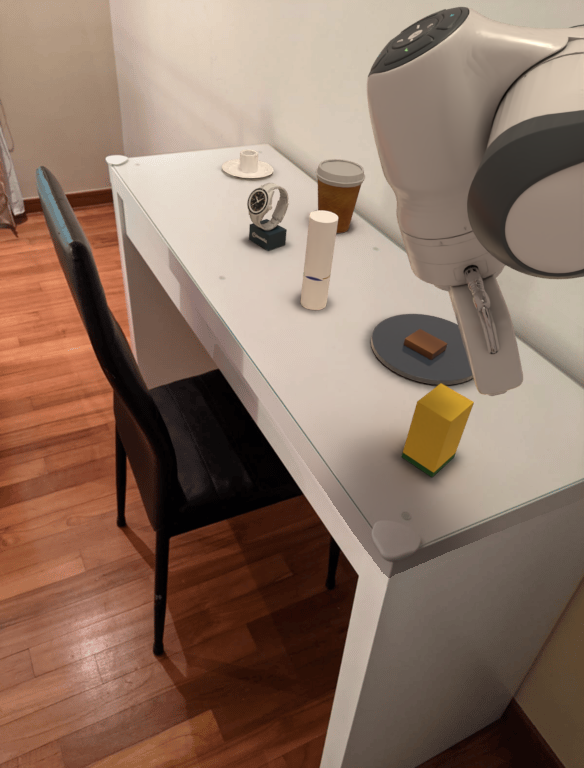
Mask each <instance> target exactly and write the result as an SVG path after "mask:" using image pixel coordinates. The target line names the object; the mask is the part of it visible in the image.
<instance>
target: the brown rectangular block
mask: <svg viewBox="0 0 584 768" xmlns="http://www.w3.org/2000/svg"><path fill="white" fill-rule="evenodd" d="M404 345H405V346H407V347H409V348H410V349H412V350H414V351H416V352H418V353H419V354H421V355H423V356H425V357H427V358H428V359H430V360H432V359H433V358H435V357H436V356H438V355H439V354H440V353H442V352H443V351H445V350H446V347H447V343H446V342H444V341H442V340H440V339H438V338H436V337H434V336H433V335H431V334H429V333H427V332H425V331H423V330H421V329H419V330H417V331H416V332H414V333H413V334H411V335H409V336H408V337H406V338H405V340H404Z"/></svg>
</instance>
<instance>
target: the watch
mask: <svg viewBox="0 0 584 768" xmlns="http://www.w3.org/2000/svg"><path fill="white" fill-rule="evenodd" d="M275 190H278V192H279V198H278V200H277V203H276V205H275V208H274V209H273V206H272V205H273V197H274V196H275V195H274V194H275ZM246 205H247V210H248V216H249V219H250V221H251V223H249V227H248V228H249V231H248V241H249V242H252V243H254V244H255V245H257V246H259V247H261V248H262V249H264V250H265V251H267V252H270V251H272V250H276V249H279V248H282V247H284V246H286V243H287V228H284V227H283V226H281V225H280V224H281V223H282V222H283V220H284V218H285V216H286V214H287V211H288V208H289V205H290V204H289V193H288V191H287V190H286V188H284V187H282V186H281V185H279V184H277V183H274V182H267V183H264V184H261V185H260V186H259V187H256V188H254V189H253V190H252V191H251V192H250V194H249V195H248V197H247V203H246ZM272 209H273V212H272V215H271V218H270V219H268V218H265V219H264V217H265V216H266V214H268V213H269V212H270V211H272Z"/></svg>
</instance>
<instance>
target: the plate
mask: <svg viewBox="0 0 584 768" xmlns="http://www.w3.org/2000/svg"><path fill="white" fill-rule="evenodd" d="M419 329H421V330H423V331H425V332H427V333H429V334H431V335H433V336H434V337H436V338H438V339H440V340H442V341H444V342H446V343H447V347H446V350H445V351H443V352H442V353H440V354H439V355H438V356H436V357H435V358H433V359H432V360H430V359H428V358H427V357H425V356H423V355H421V354H419V353H418V352H416V351H414V350H412V349H410V348H409V347H407V346H405V345H404V340H405V338H406V337H408V336H409V335H411V334H413V333H414V332H416V331H417V330H419ZM370 339H371V340H370V345H371V349H372V352H373V354H374V355H375V357H376V358H377V360H379V362H381V364H383V366H385V367H386V368H388V369H389V370H391V371H392V372H394V373H396V374H397V375H399V376H401V377H403V378H407V379H409V380H412V381H416V382H419V383H422V384H423V383H424V384H428V385H429V384H430V385H436V386H438V385H439V384H440V383H442V384H443V385H445V386H449V385H450V386H451V385H457V384H462V383H466V382H467V381H470V380H472V379H474V378H473V375H472V372H471V368H470V365H469V361H468V358H467V354H466V351H465V348H464V344H463V341H462V337H461V334H460V330H459V327H458V323H455V322H453V321H451V320H449V319H446V318H444V317H443V318H442V317H439V316H435V315H430V314H424V313H423V314H422V313H403V314H396V315H393V316H390V317H387V318H384V320H382V321H380V322H379V323H378V324H377V325H376V326H375V327H374V328H373V330H372V334H371V338H370Z"/></svg>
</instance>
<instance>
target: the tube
mask: <svg viewBox="0 0 584 768" xmlns="http://www.w3.org/2000/svg"><path fill="white" fill-rule="evenodd" d="M337 225H338V216H337V215H336V214H334V213H332V212H329V211H322V210H319V211H318V210H314V211H311V212H310V213H309V218H308V228H307V235H306V236H307V237H306V246H305V254H304V255H305V256H304V263H303V274H302V283H301V294H300V305H301V306H302V307H303V308H304V309H307V310H311V311H320V310H323V309H325V308H326V307H327V304H328V296H329V290H330V282H331V274H332V267H333V262H334V261H333V260H334V255H335V254H334V253H335V246H336V240H337V233H336V232H337Z"/></svg>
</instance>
